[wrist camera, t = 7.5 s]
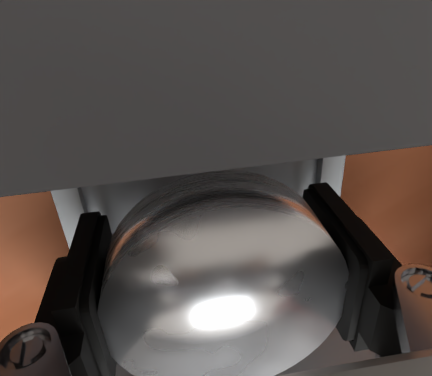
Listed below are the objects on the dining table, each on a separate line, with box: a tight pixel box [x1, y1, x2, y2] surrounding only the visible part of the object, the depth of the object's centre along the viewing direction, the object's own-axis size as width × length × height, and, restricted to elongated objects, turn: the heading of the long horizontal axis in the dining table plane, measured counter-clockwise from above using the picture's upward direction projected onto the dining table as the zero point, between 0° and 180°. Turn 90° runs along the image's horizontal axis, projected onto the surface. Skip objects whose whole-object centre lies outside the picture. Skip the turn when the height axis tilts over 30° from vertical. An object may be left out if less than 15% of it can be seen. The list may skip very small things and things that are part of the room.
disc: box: [97, 170, 349, 376], centre depth 10 cm, size 6×6×2 cm
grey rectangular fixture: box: [51, 155, 375, 376], centre depth 12 cm, size 12×14×7 cm
